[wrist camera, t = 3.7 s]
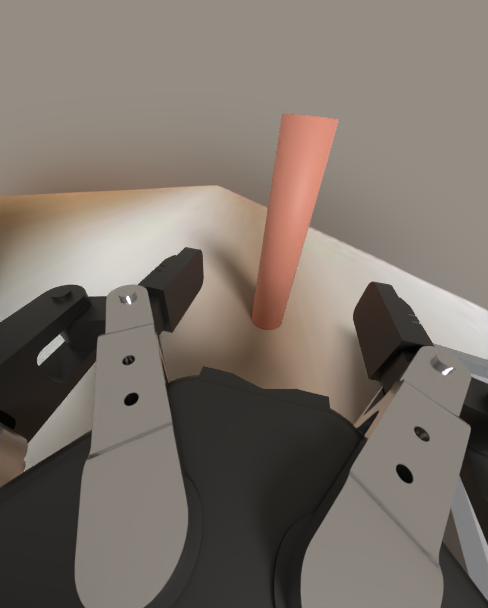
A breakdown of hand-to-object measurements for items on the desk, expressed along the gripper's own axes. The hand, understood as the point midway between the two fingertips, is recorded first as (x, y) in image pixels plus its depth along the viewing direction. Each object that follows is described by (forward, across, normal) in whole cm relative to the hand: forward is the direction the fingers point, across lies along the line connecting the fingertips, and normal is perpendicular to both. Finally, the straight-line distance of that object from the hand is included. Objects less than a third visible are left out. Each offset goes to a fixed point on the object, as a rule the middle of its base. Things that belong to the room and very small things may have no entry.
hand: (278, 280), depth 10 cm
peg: (+8, 0, +10) cm, 12 cm away
